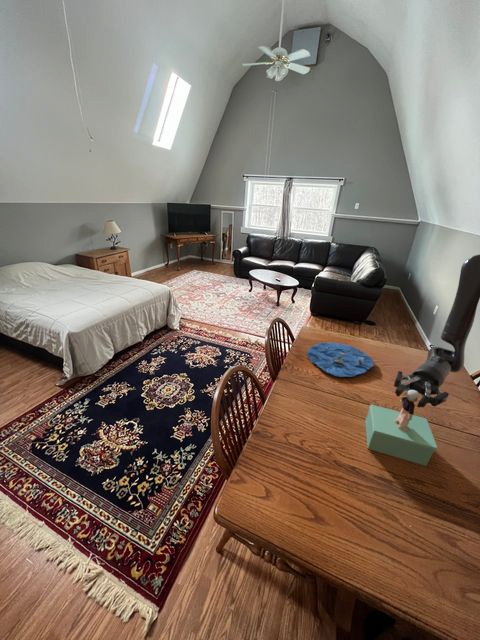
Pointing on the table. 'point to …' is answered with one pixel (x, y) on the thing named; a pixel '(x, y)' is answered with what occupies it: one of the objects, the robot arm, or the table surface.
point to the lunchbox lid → (388, 427)
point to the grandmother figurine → (407, 409)
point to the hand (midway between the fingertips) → (408, 399)
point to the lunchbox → (396, 446)
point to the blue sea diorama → (339, 359)
